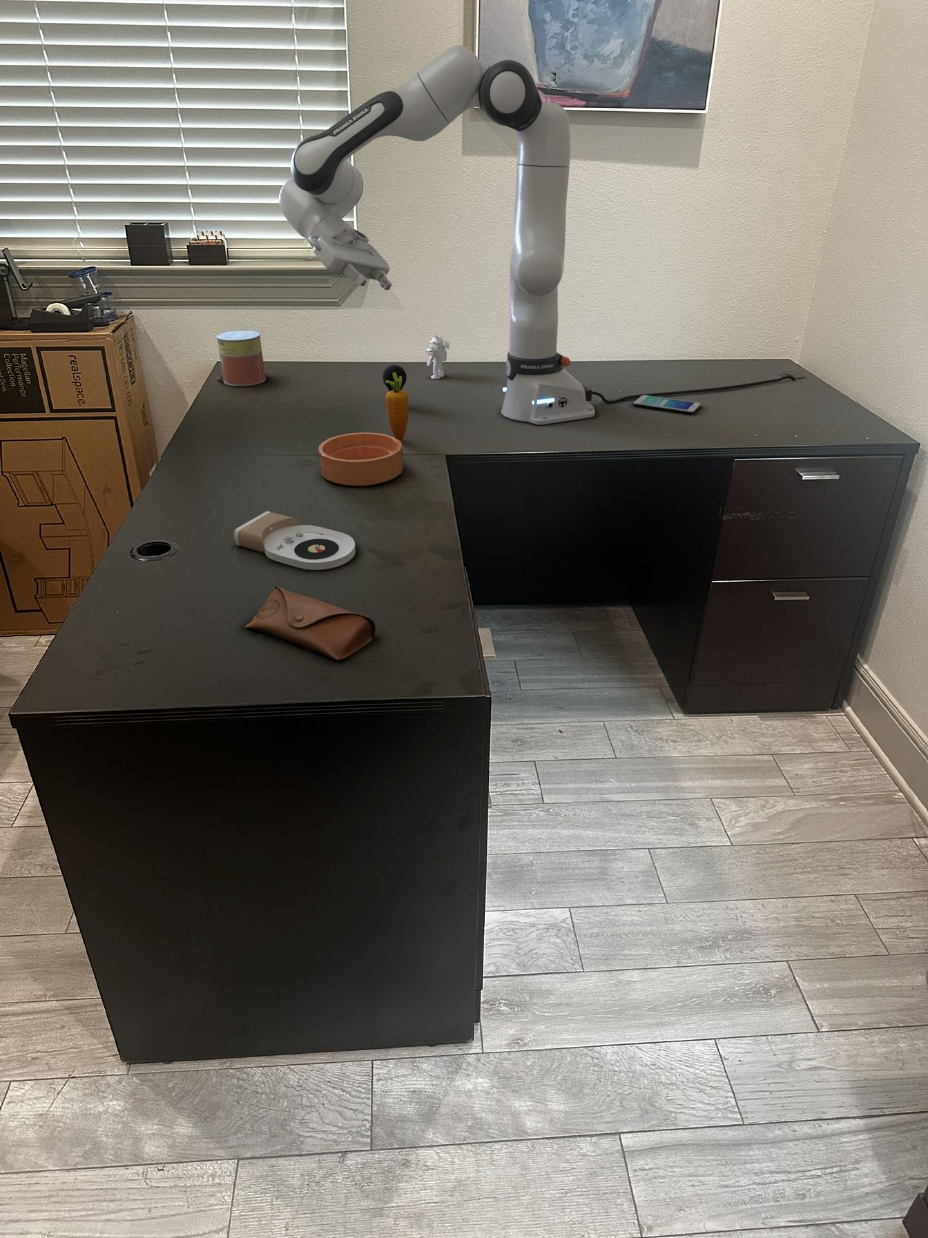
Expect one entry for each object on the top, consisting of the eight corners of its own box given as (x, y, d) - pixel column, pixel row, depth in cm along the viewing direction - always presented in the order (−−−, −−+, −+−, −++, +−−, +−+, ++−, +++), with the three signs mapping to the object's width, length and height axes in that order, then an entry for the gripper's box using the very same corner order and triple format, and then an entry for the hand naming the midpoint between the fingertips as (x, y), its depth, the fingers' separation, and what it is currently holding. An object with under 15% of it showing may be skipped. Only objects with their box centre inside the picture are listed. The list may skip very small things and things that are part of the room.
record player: (273, 507, 147) (367, 531, 139) (275, 523, 149) (369, 547, 141) (228, 532, 139) (326, 560, 131) (231, 549, 140) (328, 577, 132)
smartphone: (642, 394, 211) (701, 402, 204) (642, 397, 211) (701, 406, 205) (632, 402, 205) (693, 411, 199) (632, 405, 205) (692, 414, 199)
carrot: (407, 446, 182) (404, 377, 174) (385, 445, 183) (381, 376, 175) (413, 438, 186) (410, 371, 179) (391, 437, 187) (387, 370, 179)
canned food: (226, 375, 231) (219, 330, 225) (267, 373, 232) (261, 329, 226) (221, 386, 222) (213, 340, 215) (263, 385, 223) (257, 339, 216)
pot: (396, 454, 178) (395, 429, 175) (408, 483, 164) (407, 457, 161) (318, 461, 175) (316, 435, 172) (324, 491, 161) (321, 464, 158)
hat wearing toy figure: (435, 381, 225) (434, 336, 218) (423, 379, 226) (421, 334, 220) (452, 373, 231) (452, 329, 225) (441, 371, 233) (440, 327, 227)
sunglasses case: (239, 627, 118) (250, 581, 118) (271, 628, 125) (281, 585, 124) (341, 662, 111) (353, 614, 110) (369, 662, 117) (380, 616, 117)
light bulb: (380, 407, 206) (377, 367, 200) (390, 401, 210) (388, 361, 205) (401, 410, 204) (399, 369, 198) (411, 403, 208) (410, 363, 203)
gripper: (312, 221, 168) (355, 267, 166) (369, 235, 186) (409, 277, 184) (297, 247, 172) (339, 293, 170) (354, 259, 189) (393, 301, 187)
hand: (376, 285), depth 177 cm, fingers open, 8 cm apart
